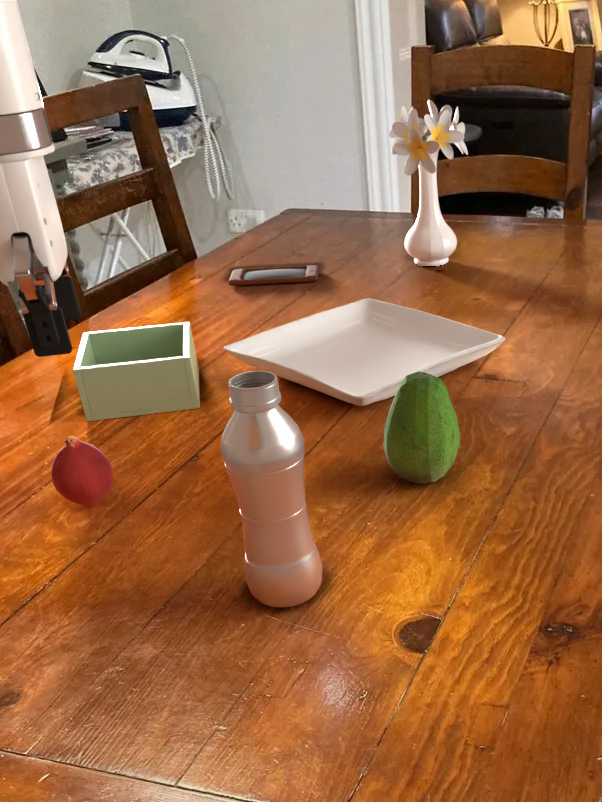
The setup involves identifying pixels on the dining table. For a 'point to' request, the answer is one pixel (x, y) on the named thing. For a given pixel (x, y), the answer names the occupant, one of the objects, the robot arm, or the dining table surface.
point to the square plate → (364, 349)
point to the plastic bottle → (270, 492)
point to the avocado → (421, 429)
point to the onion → (82, 473)
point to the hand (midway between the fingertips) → (60, 336)
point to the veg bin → (137, 371)
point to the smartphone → (274, 275)
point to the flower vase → (428, 178)
